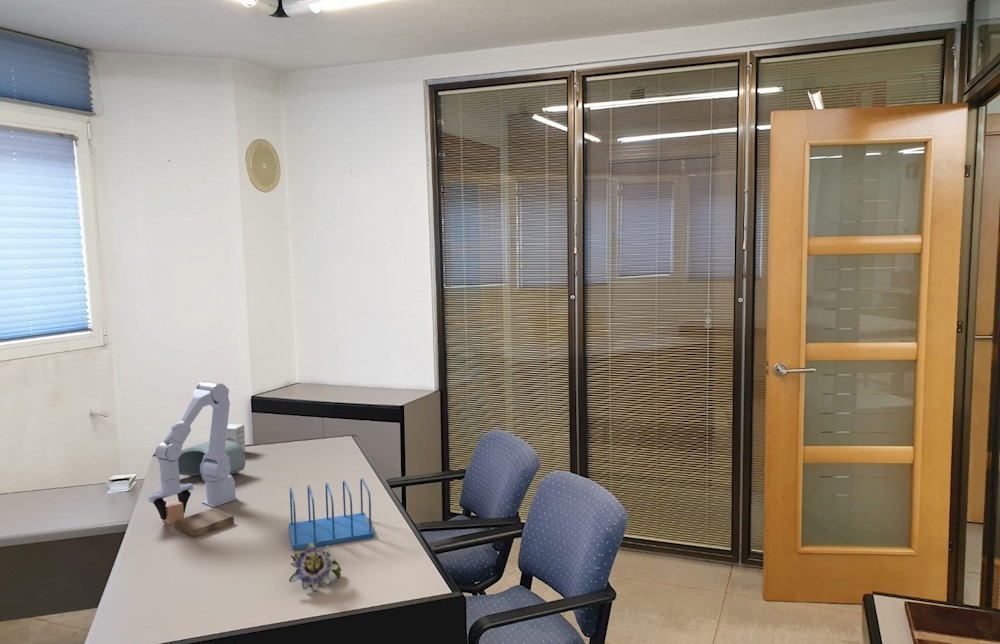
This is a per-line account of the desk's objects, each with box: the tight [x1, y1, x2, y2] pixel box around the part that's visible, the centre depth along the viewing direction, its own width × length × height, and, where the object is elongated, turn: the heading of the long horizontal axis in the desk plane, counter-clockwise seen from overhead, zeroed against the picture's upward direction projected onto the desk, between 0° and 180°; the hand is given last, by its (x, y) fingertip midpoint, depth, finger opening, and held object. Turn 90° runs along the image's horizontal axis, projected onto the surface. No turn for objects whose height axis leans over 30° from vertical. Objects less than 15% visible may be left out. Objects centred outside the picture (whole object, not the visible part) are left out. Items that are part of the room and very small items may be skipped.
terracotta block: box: [161, 499, 185, 526], centre depth 236 cm, size 5×5×6 cm
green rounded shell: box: [178, 440, 246, 483], centre depth 278 cm, size 22×19×13 cm
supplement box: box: [226, 423, 246, 453], centre depth 307 cm, size 7×7×13 cm
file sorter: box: [288, 477, 375, 551], centre depth 224 cm, size 25×17×15 cm
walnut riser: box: [174, 507, 235, 539], centre depth 232 cm, size 14×12×2 cm
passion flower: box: [288, 542, 342, 593], centre depth 193 cm, size 13×12×14 cm
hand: (173, 515), depth 236 cm, fingers open, 6 cm apart
